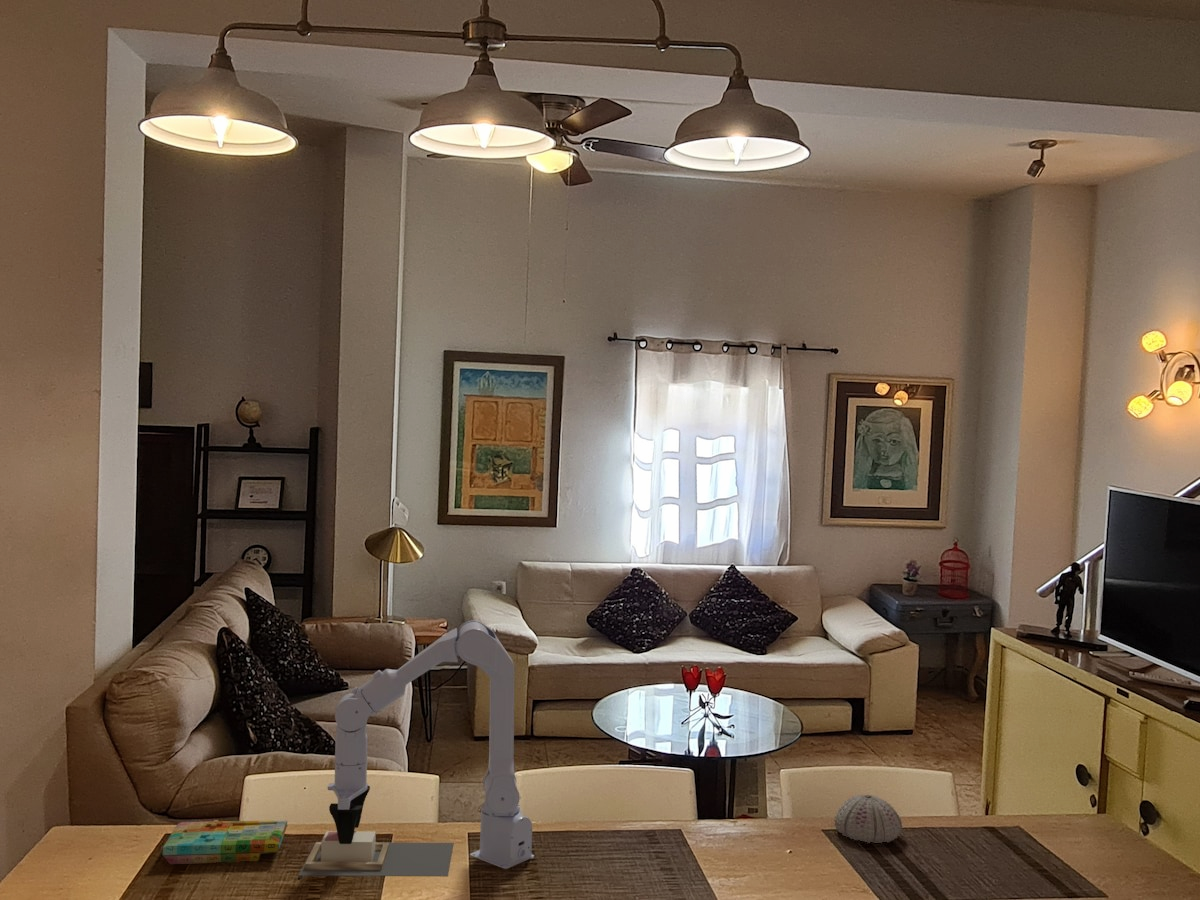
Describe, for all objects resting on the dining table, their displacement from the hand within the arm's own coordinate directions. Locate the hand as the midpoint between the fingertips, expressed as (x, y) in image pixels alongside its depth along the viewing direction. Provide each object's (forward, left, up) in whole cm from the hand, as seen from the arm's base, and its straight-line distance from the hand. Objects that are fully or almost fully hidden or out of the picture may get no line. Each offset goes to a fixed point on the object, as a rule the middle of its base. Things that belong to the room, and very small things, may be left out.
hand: (349, 835), depth 193 cm
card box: (0, 0, -4) cm, 4 cm away
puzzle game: (+19, +13, -5) cm, 24 cm away
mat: (-4, -4, -5) cm, 7 cm away
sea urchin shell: (-66, -78, -5) cm, 103 cm away
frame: (0, 0, -5) cm, 5 cm away
